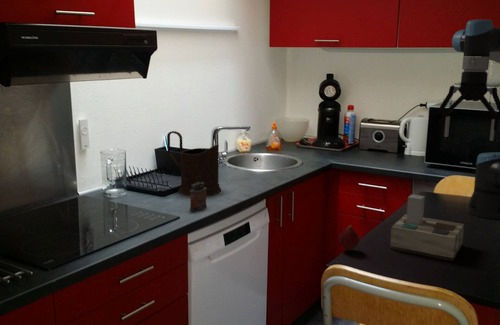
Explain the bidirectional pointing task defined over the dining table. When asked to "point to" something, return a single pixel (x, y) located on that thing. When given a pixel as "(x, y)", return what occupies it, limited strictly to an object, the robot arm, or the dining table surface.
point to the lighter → (198, 197)
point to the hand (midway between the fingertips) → (468, 138)
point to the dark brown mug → (197, 168)
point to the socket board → (428, 238)
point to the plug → (415, 209)
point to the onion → (349, 238)
